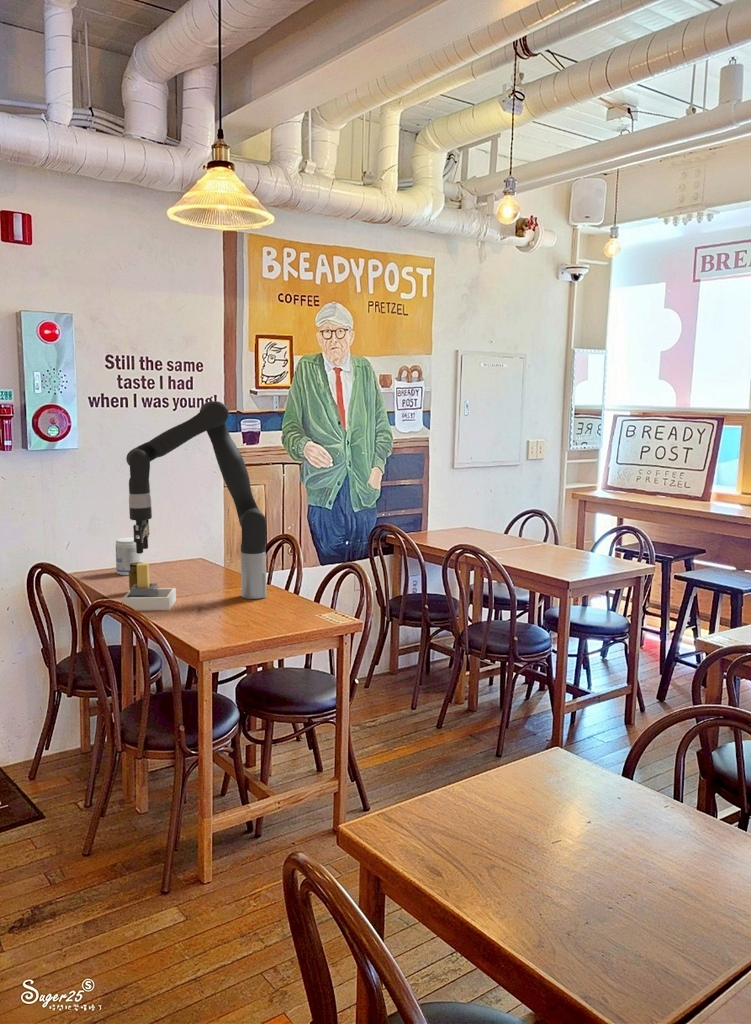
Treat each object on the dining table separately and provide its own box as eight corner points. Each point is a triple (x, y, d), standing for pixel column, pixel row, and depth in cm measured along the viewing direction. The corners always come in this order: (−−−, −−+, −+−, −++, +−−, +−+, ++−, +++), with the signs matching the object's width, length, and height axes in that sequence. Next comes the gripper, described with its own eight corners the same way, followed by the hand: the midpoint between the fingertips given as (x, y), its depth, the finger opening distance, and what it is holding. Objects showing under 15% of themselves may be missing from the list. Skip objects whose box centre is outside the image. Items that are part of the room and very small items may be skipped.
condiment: (142, 591, 314) (141, 560, 312) (152, 595, 308) (151, 564, 306) (124, 594, 310) (123, 563, 308) (133, 598, 303) (132, 567, 301)
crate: (176, 601, 299) (175, 588, 298) (169, 611, 285) (168, 597, 284) (131, 601, 298) (131, 588, 297) (123, 612, 284) (122, 598, 283)
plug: (150, 595, 293) (148, 563, 291) (148, 598, 289) (147, 565, 287) (139, 595, 292) (138, 563, 291) (137, 598, 289) (136, 565, 287)
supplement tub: (112, 573, 344) (110, 539, 341) (131, 569, 351) (130, 536, 349) (125, 576, 338) (124, 542, 336) (144, 573, 345) (143, 539, 343)
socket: (158, 602, 296) (157, 583, 294) (153, 607, 288) (152, 588, 287) (135, 602, 295) (134, 583, 294) (130, 608, 287) (129, 588, 286)
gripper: (146, 508, 279) (149, 554, 282) (155, 502, 293) (157, 546, 296) (124, 508, 279) (127, 555, 281) (133, 503, 293) (136, 547, 295)
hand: (142, 550), depth 288 cm, fingers open, 8 cm apart
